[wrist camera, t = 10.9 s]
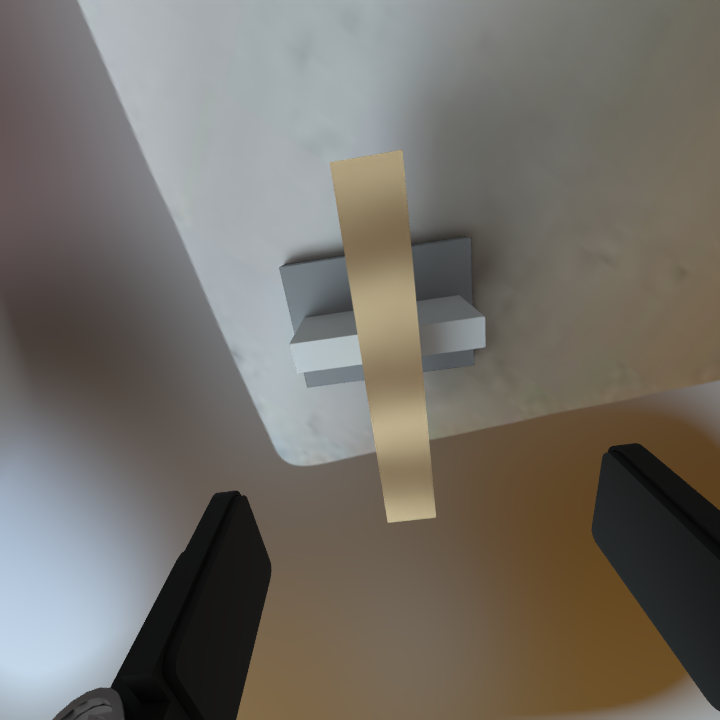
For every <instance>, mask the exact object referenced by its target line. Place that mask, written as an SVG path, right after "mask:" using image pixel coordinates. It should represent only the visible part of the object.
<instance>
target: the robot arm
mask: <svg viewBox="0 0 720 720" xmlns="http://www.w3.org/2000/svg"><path fill="white" fill-rule="evenodd" d="M592 534H593V537H594V540H595V542H596V543H597V545H598V546H599V548H600V549H601V551H602V552H603V553H604V555H605V556H606V558H607V559H608V560H609V562H610V563H611V565H612V566H613V568H614V569H615V570H616V572H617V573H618V575H619V576H620V577H621V579H622V580H623V582H624V583H625V585H626V586H627V587H628V589H629V590H630V592H631V593H632V594H633V595H634V597H635V599H636V600H637V601H638V603H639V604H640V606H641V607H642V608H643V610H644V611H645V613H646V614H647V615H648V617H649V618H650V620H651V621H652V623H653V624H654V625H655V627H656V628H657V630H658V631H659V632H660V634H661V635H662V637H663V638H664V640H665V641H666V642H667V644H668V645H669V647H670V648H671V650H672V651H673V652H674V654H675V655H676V656H677V658H678V659H679V661H680V662H681V664H682V665H683V667H684V668H685V669H686V671H687V672H688V673H689V675H690V676H691V678H692V679H693V681H694V682H695V683H696V685H697V686H698V688H699V689H700V691H701V692H702V693H703V695H704V696H705V697H706V699H707V700H708V701H709V703H710V704H711V705H712V706H713V707H714V708H715V709H717V710H718V711H720V510H718V509H717V508H716V507H715V506H714V505H713V504H711V503H710V502H709V501H708V500H707V499H705V498H704V497H703V496H702V495H701V494H699V493H698V492H697V491H696V490H695V489H693V488H692V487H691V486H690V485H689V484H687V483H686V482H685V481H684V480H683V479H681V478H680V477H679V476H678V475H677V474H675V473H674V472H673V471H672V470H671V469H670V468H668V467H667V466H666V465H665V464H663V463H662V462H661V461H660V460H659V459H657V458H656V457H655V456H654V455H653V454H652V453H650V452H649V451H648V450H647V449H646V448H644V447H643V446H642V445H640V444H637V443H634V444H625V445H617V446H612V447H610V448H609V450H608V453H605V454H604V455H603V457H602V464H601V470H600V477H599V484H598V490H597V496H596V503H595V510H594V516H593V523H592ZM270 577H271V562H270V559H269V557H268V554H267V551H266V548H265V546H264V543H263V540H262V537H261V535H260V532H259V529H258V526H257V524H256V521H255V518H254V515H253V513H252V510H251V508H250V504H249V502H248V499H247V497H246V496H244V495H243V496H241V494H240V492H238V491H229V492H221V493H216V494H215V495H214V496H213V497H212V499H211V501H210V503H209V505H208V507H207V508H206V510H205V512H204V514H203V516H202V518H201V520H200V522H199V524H198V526H197V528H196V530H195V532H194V534H193V536H192V538H191V540H190V542H189V544H188V545H187V547H186V550H185V551H184V552H183V553H181V555H180V556H179V558H178V559H177V561H176V563H175V565H174V567H173V568H172V570H171V572H170V574H169V576H168V578H167V580H166V582H165V584H164V586H163V588H162V589H161V591H160V593H159V595H158V597H157V599H156V601H155V603H154V605H153V607H152V609H151V611H150V613H149V614H148V616H147V618H146V620H145V622H144V624H143V626H142V628H141V630H140V632H139V634H138V635H137V637H136V639H135V641H134V643H133V645H132V647H131V649H130V651H129V653H128V655H127V657H126V659H125V660H124V662H123V664H122V666H121V668H120V670H119V672H118V674H117V676H116V678H115V679H114V682H113V683H112V685H111V687H110V688H97V689H94V690H92V691H89V692H86V693H85V694H83V695H81V696H80V697H78V698H77V699H75V700H73V701H72V702H71V703H70V704H69V705H67V706H66V707H65V708H64V709H63V710H62V711H60V712H59V713H58V714H57V715H56V717H55V718H54V719H53V720H236V718H237V714H238V709H239V705H240V701H241V697H242V693H243V689H244V685H245V680H246V676H247V673H248V668H249V664H250V660H251V656H252V652H253V648H254V643H255V640H256V635H257V631H258V627H259V623H260V619H261V615H262V611H263V607H264V602H265V598H266V594H267V590H268V586H269V582H270Z"/></svg>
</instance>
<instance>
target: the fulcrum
mask: <svg viewBox="0 0 720 720" xmlns="http://www.w3.org/2000/svg"><path fill="white" fill-rule="evenodd" d="M411 249H412V260H413V271H414V282H415V293H416V304H417V315H418V326H419V337H420V348H421V359H422V370H423V372H427V371H434V370H442V369H449V368H457V367H464V366H471V365H474V349H477V348H484V347H486V345H485V316H484V315H483V314H482V313H480V312H479V311H478V310H477V309H476V308H474V307H473V298H472V261H471V238H470V237H458V238H452V239H446V240H439V241H433V242H426V243H420V244H414V245H411ZM279 269H280V274H281V278H282V282H283V286H284V291H285V295H286V299H287V304H288V308H289V312H290V316H291V321H292V325H293V329H294V333H295V335H294V337H293V339H292V340H291V342H290V344H289V345H290V349H291V353H292V357H293V361H294V365H295V370H296V373H303V372H304V376H305V380H306V385H307V388H309V387H316V386H323V385H331V384H338V383H346V382H353V381H360V380H365V377H364V371H363V365H362V359H361V353H360V346H359V340H358V334H357V328H356V322H355V315H354V309H353V303H352V297H351V290H350V284H349V278H348V272H347V266H346V259H345V255H344V256H337V257H331V258H324V259H318V260H312V261H305V262H299V263H293V264H286V265H282V266H281V267H279Z"/></svg>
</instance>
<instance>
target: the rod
mask: <svg viewBox="0 0 720 720" xmlns="http://www.w3.org/2000/svg"><path fill="white" fill-rule="evenodd" d="M330 166H331V172H332V179H333V185H334V191H335V197H336V204H337V210H338V216H339V222H340V228H341V235H342V241H343V247H344V253H345V259H346V266H347V272H348V278H349V284H350V290H351V297H352V303H353V309H354V315H355V322H356V328H357V334H358V340H359V346H360V353H361V359H362V365H363V371H364V377H365V384H366V390H367V396H368V402H369V408H370V415H371V421H372V427H373V433H374V440H375V446H376V452H377V458H378V464H379V470H380V477H381V483H382V489H383V495H384V502H385V508H386V513H387V519H388V523H390V522H399V521H408V520H417V519H426V518H435V517H436V513H435V503H434V491H433V480H432V469H431V458H430V447H429V436H428V425H427V414H426V403H425V392H424V381H423V370H422V359H421V348H420V337H419V326H418V315H417V304H416V293H415V282H414V271H413V260H412V249H411V238H410V227H409V216H408V205H407V194H406V183H405V172H404V161H403V150H399V151H393V152H387V153H381V154H376V155H370V156H364V157H358V158H353V159H347V160H341V161H335V162H330Z"/></svg>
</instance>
